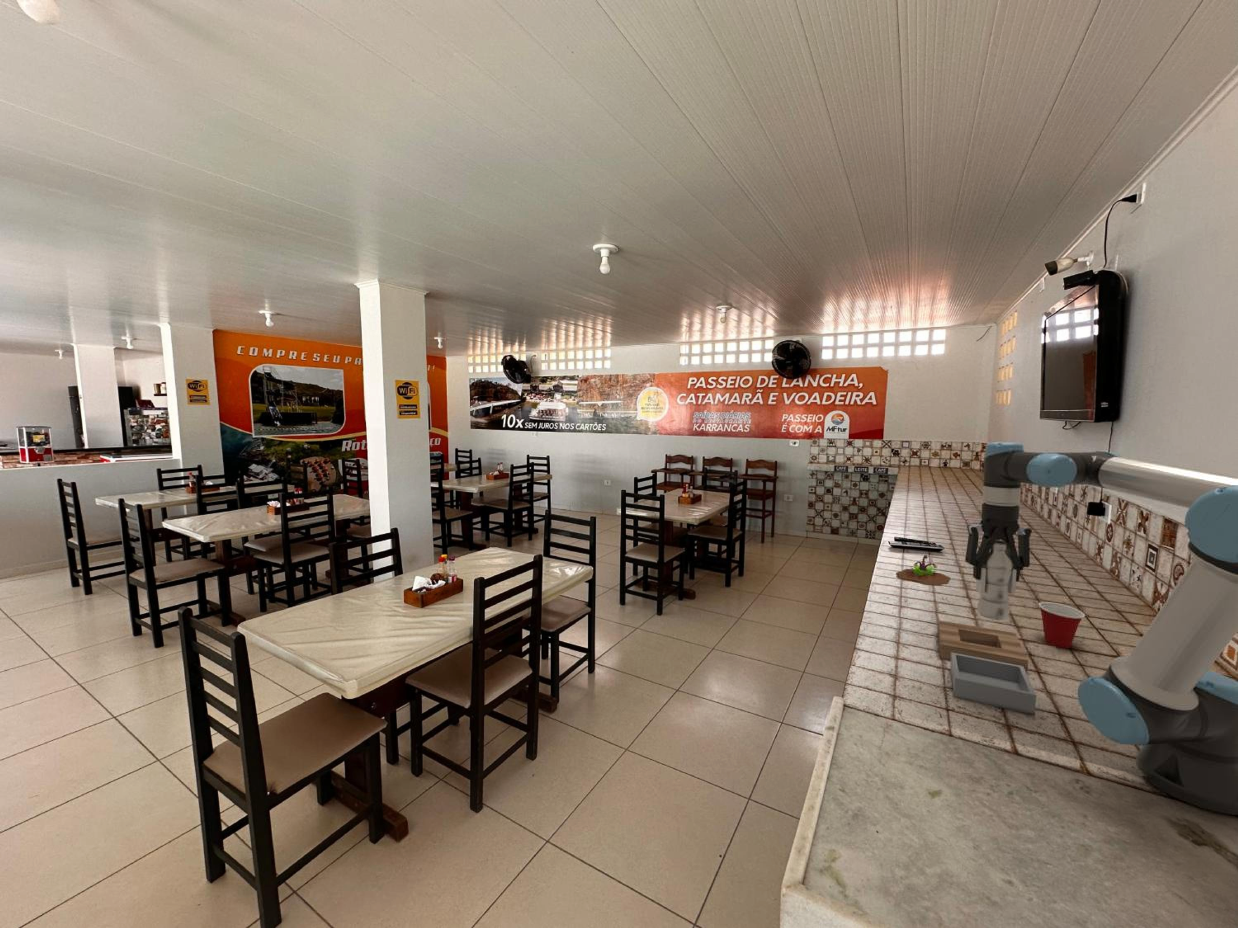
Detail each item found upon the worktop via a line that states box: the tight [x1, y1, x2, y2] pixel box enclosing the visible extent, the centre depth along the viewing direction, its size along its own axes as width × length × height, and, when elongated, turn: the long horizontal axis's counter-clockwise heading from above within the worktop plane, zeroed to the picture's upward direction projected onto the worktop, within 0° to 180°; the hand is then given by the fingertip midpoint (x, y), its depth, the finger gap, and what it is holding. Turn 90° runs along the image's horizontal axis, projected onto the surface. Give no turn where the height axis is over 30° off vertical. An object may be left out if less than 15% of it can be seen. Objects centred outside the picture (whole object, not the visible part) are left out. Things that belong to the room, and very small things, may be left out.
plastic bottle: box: [976, 540, 1013, 621], centre depth 127 cm, size 6×7×20 cm
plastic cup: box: [1038, 601, 1086, 649], centre depth 154 cm, size 11×11×12 cm
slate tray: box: [949, 652, 1037, 716], centre depth 129 cm, size 16×16×5 cm
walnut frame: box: [937, 619, 1029, 674], centre depth 150 cm, size 20×20×4 cm
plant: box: [895, 554, 951, 587], centre depth 216 cm, size 20×20×11 cm
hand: (995, 592), depth 127 cm, fingers closed on plastic bottle, 6 cm apart
